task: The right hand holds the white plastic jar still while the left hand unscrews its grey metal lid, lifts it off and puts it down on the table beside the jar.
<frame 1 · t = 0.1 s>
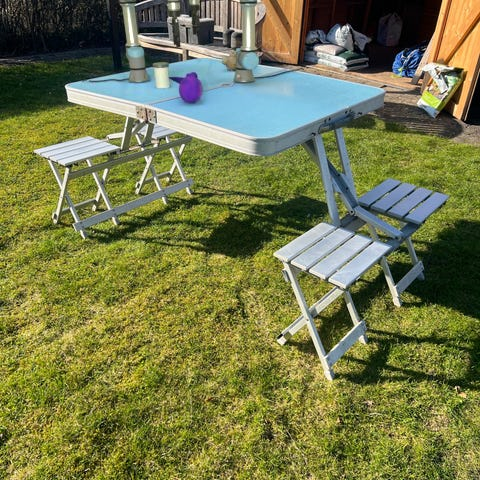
left hand: (196, 35, 349), 28 cm above the table, tool pointing down, fingers open, 13 cm apart
right hand: (177, 46, 297), 28 cm above the table, tool pointing down, fingers open, 13 cm apart
beige textured lump: (233, 70, 372), on the table
lid: (160, 64, 312), point 15 cm above the table, screwed on, not yet turned
jar: (163, 86, 320), on the table
toy: (188, 100, 283), on the table
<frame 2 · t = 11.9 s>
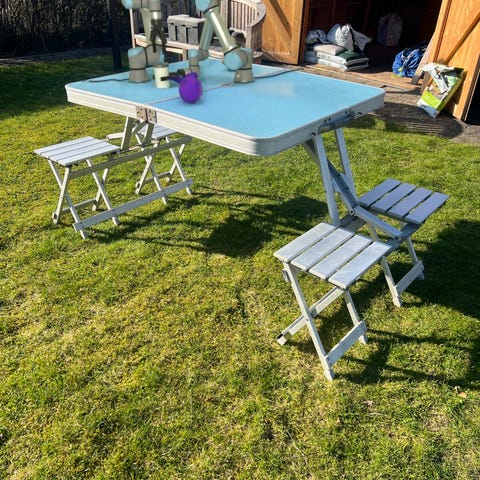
left hand: (159, 53, 309), 22 cm above the table, tool pointing down, fingers open, 12 cm apart
right hand: (156, 78, 314), 6 cm above the table, tool horizontal, fingers closed on jar, 10 cm apart
jar: (163, 86, 320), on the table, touching right hand
everything else where it was.
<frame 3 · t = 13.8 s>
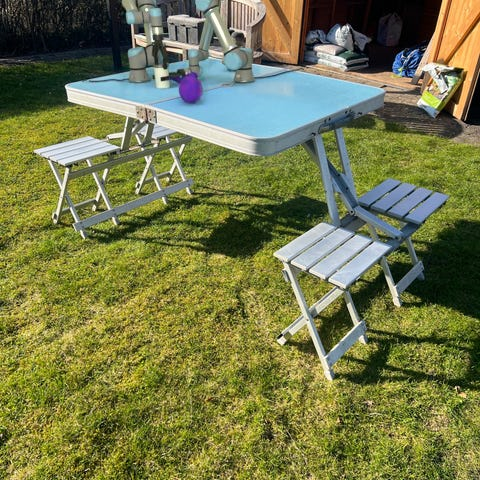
left hand: (161, 68, 314), 13 cm above the table, tool pointing down, fingers closed on lid, 11 cm apart
right hand: (156, 78, 314), 6 cm above the table, tool horizontal, fingers closed on jar, 10 cm apart
lid: (160, 64, 312), point 15 cm above the table, screwed on, not yet turned, touching left hand
jar: (163, 86, 320), on the table, touching right hand
everything else where it was.
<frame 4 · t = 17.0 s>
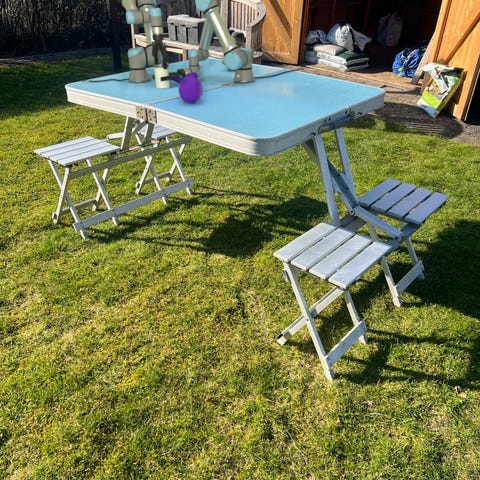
left hand: (161, 68, 314), 13 cm above the table, tool pointing down, fingers closed on lid, 11 cm apart
right hand: (156, 78, 314), 6 cm above the table, tool horizontal, fingers closed on jar, 10 cm apart
lid: (160, 63, 312), point 15 cm above the table, turned 126° so far, risen 0.2 cm, still on its thread, touching left hand
jar: (163, 86, 320), on the table, touching right hand
everything else where it was.
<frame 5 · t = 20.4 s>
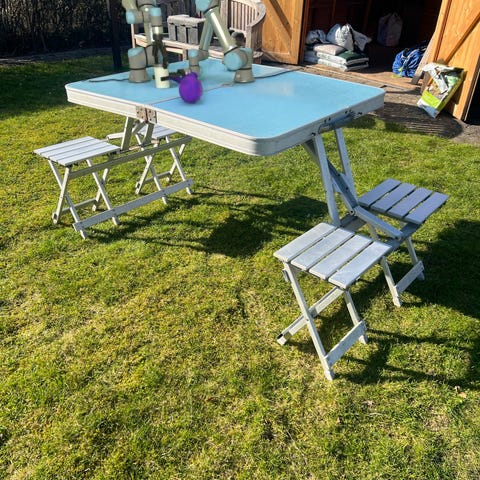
left hand: (161, 67, 313), 13 cm above the table, tool pointing down, fingers closed on lid, 11 cm apart
right hand: (156, 78, 314), 6 cm above the table, tool horizontal, fingers closed on jar, 10 cm apart
lid: (160, 63, 312), point 16 cm above the table, turned 251° so far, risen 0.3 cm, still on its thread, touching left hand
jar: (163, 86, 320), on the table, touching right hand
everything else where it was.
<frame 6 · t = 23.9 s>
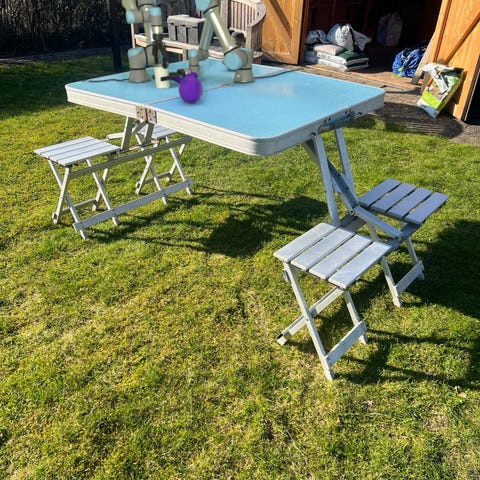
left hand: (161, 67, 313), 13 cm above the table, tool pointing down, fingers closed on lid, 11 cm apart
right hand: (156, 78, 314), 6 cm above the table, tool horizontal, fingers closed on jar, 10 cm apart
lid: (160, 63, 312), point 16 cm above the table, turned 377° so far, risen 0.5 cm, still on its thread, touching left hand
jar: (163, 86, 320), on the table, touching right hand
everything else where it was.
when the left hand's fingers open (0 cm above the table, at t = 31.5 s): lid drops 1 cm, point 2 cm above the table.
when the right hand's fingers open (6 cm above the table, at t = 32.5 s): jar stays where it is, on the table.
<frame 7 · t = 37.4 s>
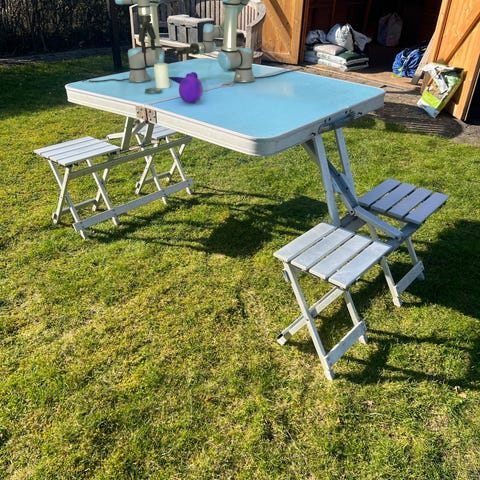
left hand: (148, 51, 292), 26 cm above the table, tool pointing down, fingers open, 13 cm apart
right hand: (171, 51, 314), 22 cm above the table, tool horizontal, fingers open, 13 cm apart
lid: (153, 90, 304), point 2 cm above the table, off its thread
jar: (163, 86, 320), on the table
everything else where it was.
at the end: lid came off its thread; lid point 1.5 cm above the table; the left hand is holding nothing; the right hand is holding nothing; jar tilted 0°; jar moved 0.0 cm from its start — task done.
